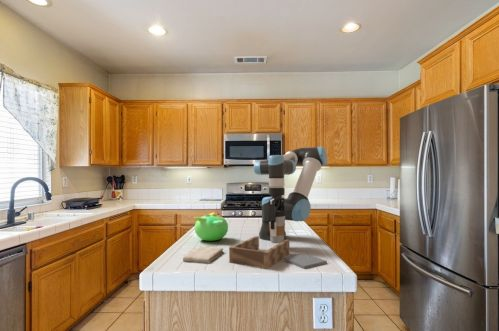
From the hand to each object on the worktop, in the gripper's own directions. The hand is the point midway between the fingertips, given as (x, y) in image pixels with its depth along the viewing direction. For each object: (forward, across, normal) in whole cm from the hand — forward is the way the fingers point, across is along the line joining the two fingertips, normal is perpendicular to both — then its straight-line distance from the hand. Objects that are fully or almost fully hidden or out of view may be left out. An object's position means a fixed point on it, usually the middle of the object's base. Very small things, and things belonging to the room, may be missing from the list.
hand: (277, 234), depth 137 cm
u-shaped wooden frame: (+6, +17, 0) cm, 18 cm away
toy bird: (+7, +2, -38) cm, 38 cm away
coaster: (+6, +15, +18) cm, 25 cm away
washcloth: (+7, +28, -23) cm, 36 cm away
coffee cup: (+4, 0, 0) cm, 4 cm away
